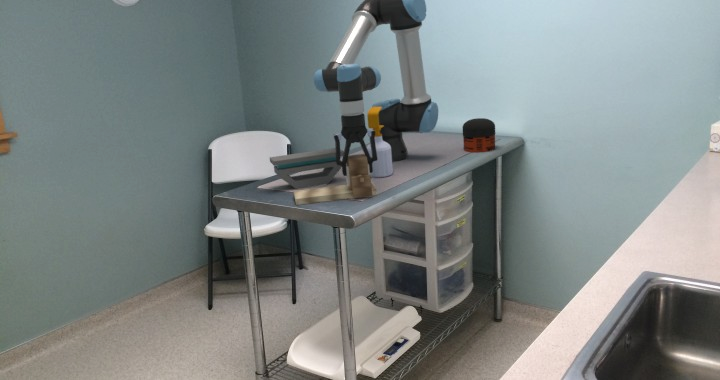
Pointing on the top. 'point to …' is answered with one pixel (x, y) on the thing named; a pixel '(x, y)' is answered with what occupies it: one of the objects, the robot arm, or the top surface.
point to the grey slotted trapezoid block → (307, 167)
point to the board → (325, 194)
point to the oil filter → (479, 135)
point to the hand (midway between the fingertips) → (358, 183)
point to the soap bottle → (379, 147)
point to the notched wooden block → (359, 176)
